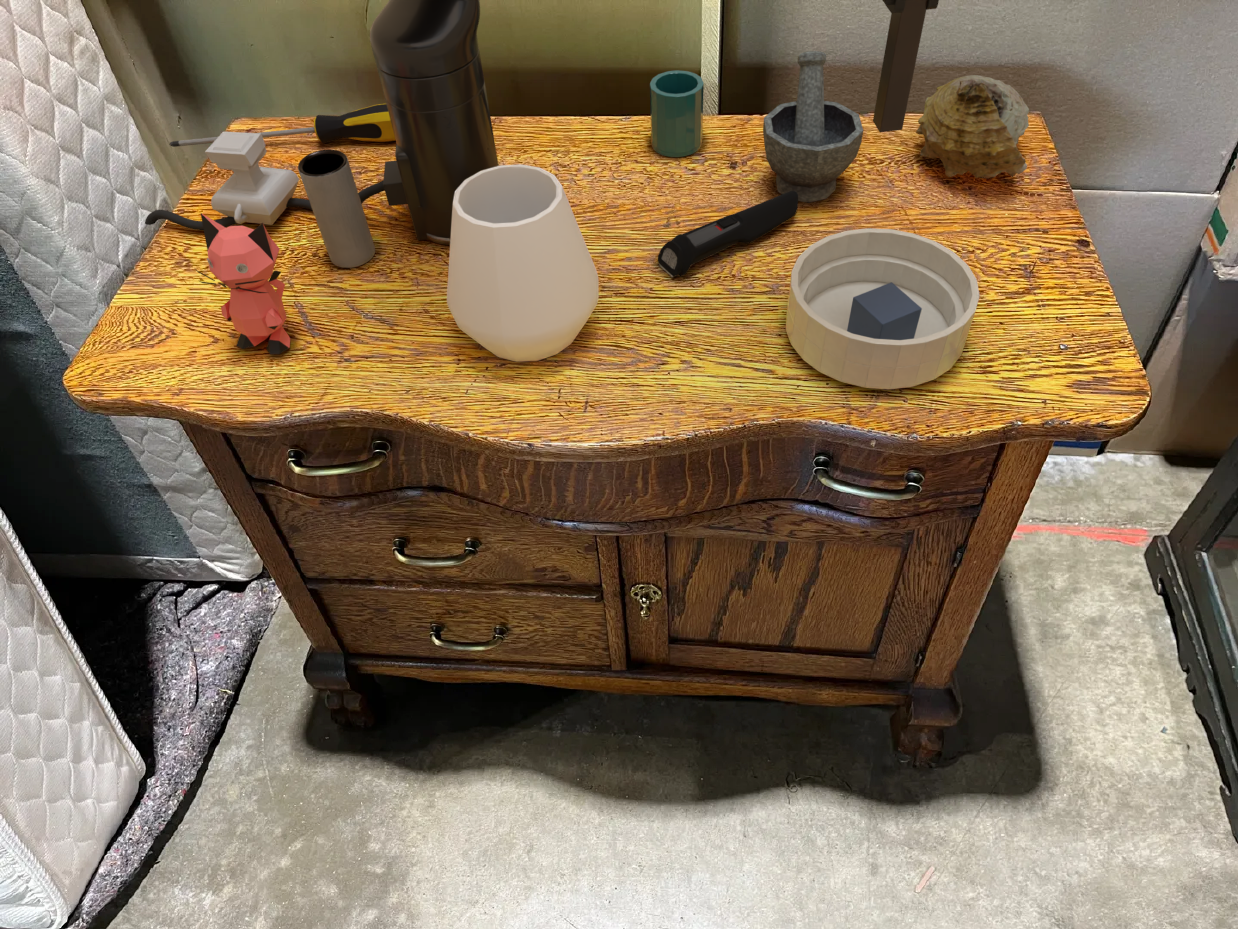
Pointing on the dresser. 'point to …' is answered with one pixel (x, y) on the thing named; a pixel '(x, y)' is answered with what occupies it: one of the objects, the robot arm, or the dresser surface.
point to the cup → (518, 264)
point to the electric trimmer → (726, 233)
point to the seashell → (975, 127)
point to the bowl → (867, 264)
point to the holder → (676, 113)
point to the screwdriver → (334, 127)
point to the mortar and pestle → (811, 136)
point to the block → (884, 314)
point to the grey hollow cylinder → (337, 207)
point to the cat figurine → (248, 282)
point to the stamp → (249, 180)
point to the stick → (899, 65)
